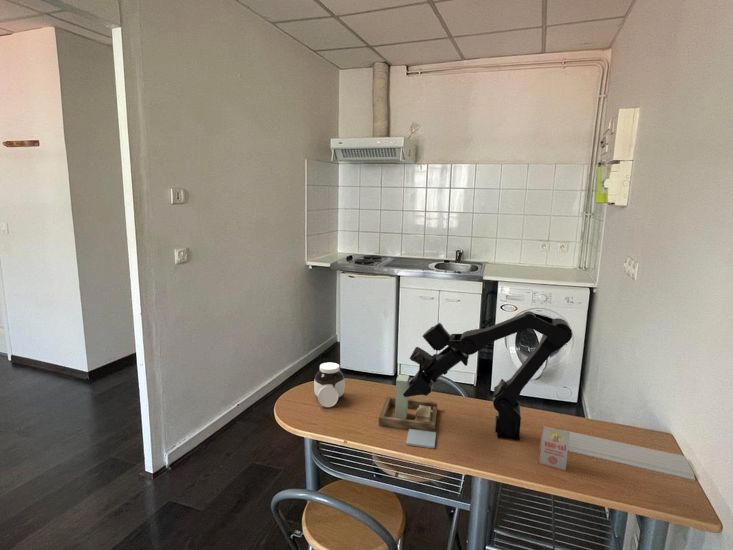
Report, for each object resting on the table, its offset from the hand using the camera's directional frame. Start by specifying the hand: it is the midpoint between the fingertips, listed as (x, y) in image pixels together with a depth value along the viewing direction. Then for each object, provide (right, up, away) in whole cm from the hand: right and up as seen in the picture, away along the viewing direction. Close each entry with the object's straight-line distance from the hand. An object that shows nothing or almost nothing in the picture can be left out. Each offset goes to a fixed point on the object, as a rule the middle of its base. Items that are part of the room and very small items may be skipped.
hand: (407, 389), depth 138 cm
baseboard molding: (+58, -15, -17) cm, 62 cm away
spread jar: (-26, -7, +12) cm, 29 cm away
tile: (+3, -11, -12) cm, 17 cm away
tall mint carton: (-2, -9, +2) cm, 9 cm away
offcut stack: (+5, -9, 0) cm, 11 cm away
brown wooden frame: (+1, -9, +1) cm, 9 cm away
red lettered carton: (+37, -14, -22) cm, 45 cm away
